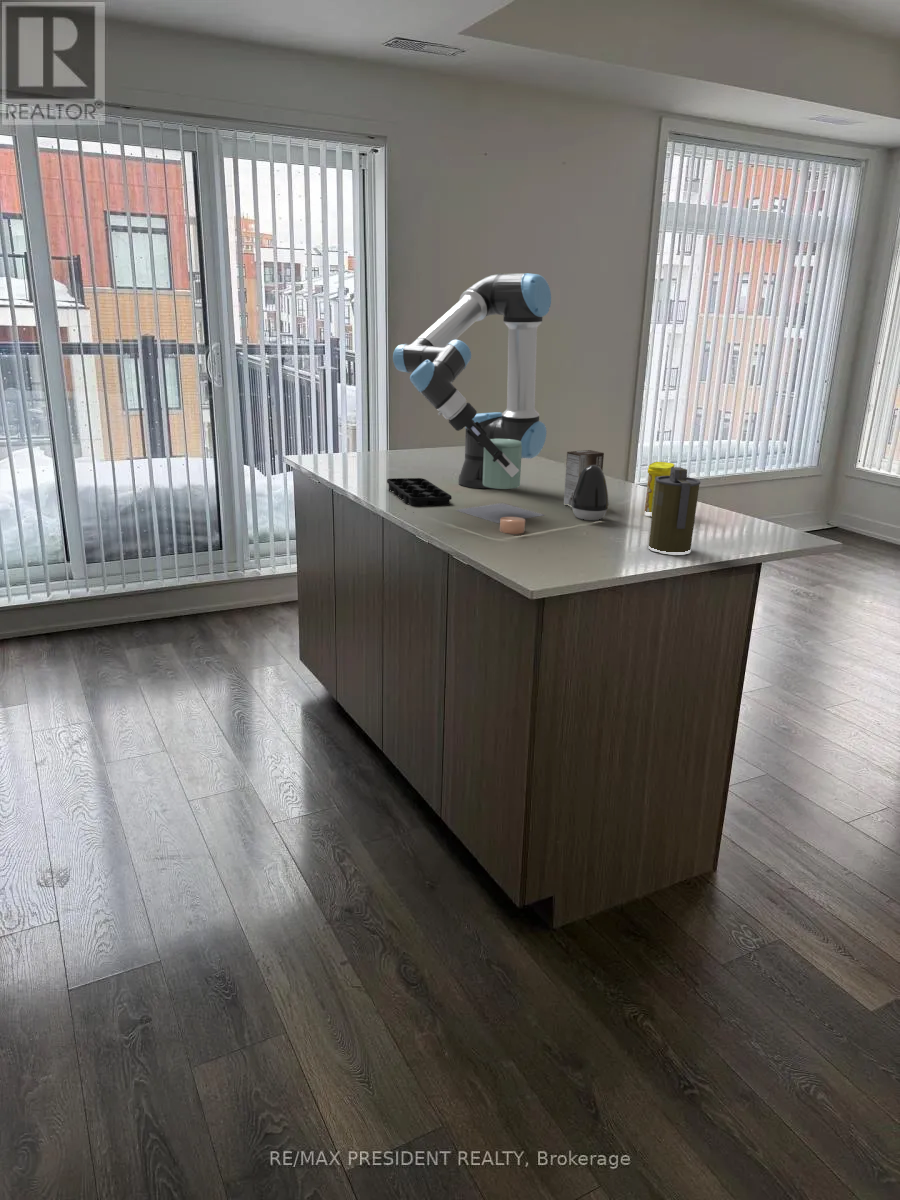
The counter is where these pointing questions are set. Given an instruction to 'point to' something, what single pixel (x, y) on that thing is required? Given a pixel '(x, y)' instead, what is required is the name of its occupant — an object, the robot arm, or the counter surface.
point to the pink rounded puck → (512, 525)
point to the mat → (499, 512)
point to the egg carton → (418, 491)
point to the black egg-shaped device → (590, 494)
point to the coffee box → (579, 469)
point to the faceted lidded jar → (495, 472)
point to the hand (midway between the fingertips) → (512, 469)
